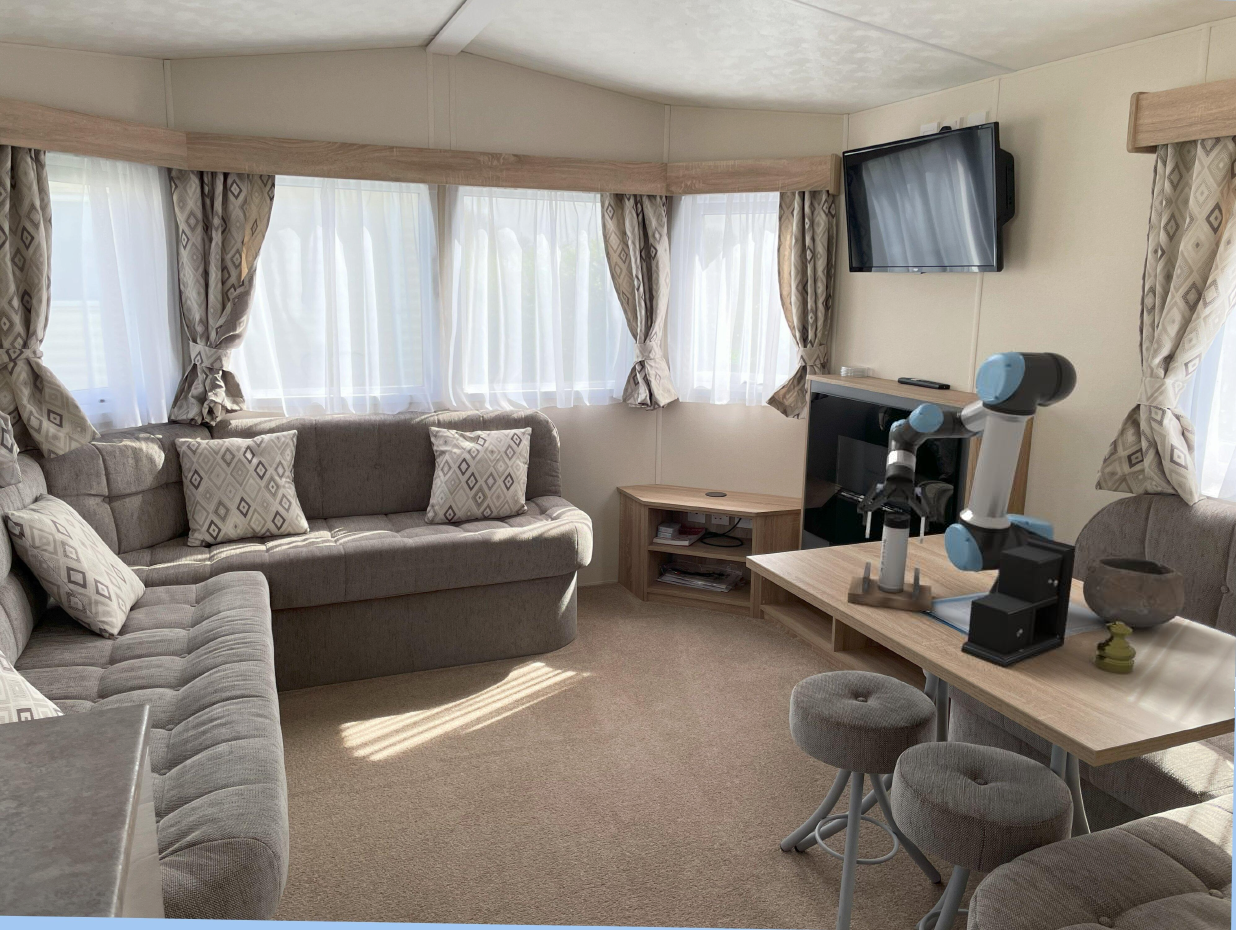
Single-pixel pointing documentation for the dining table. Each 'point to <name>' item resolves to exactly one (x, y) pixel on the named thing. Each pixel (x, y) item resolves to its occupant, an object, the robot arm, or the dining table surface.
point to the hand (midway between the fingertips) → (894, 538)
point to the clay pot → (1133, 591)
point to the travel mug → (894, 551)
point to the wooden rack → (908, 599)
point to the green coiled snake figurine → (1115, 650)
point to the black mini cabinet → (1024, 604)
